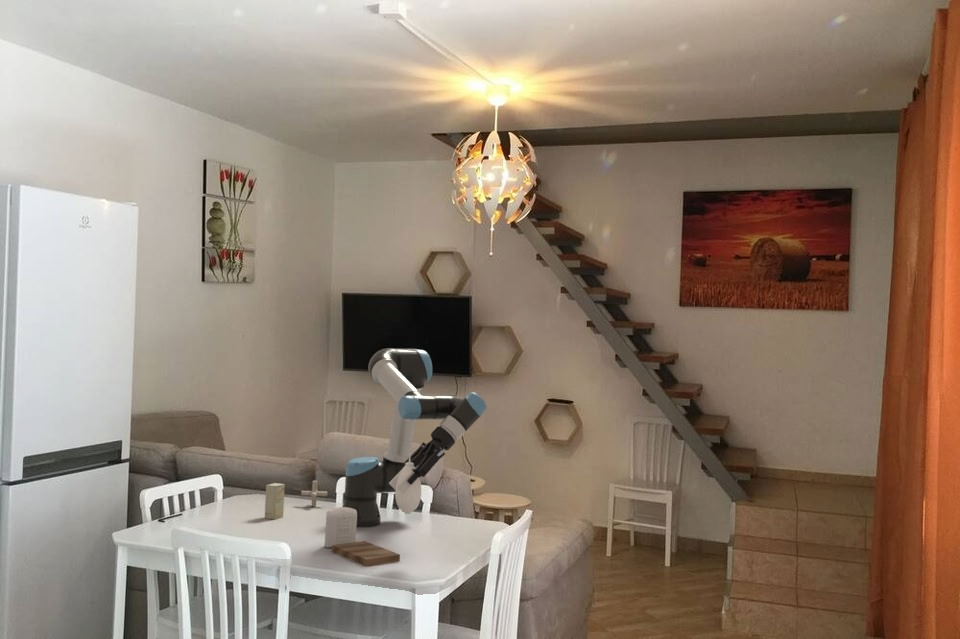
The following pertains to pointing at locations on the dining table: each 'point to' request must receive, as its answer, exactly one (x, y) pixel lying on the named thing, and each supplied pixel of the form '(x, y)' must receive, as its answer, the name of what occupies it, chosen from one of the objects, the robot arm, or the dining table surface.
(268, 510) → the skincare box
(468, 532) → the dining table surface
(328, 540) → the beige engraved tablet
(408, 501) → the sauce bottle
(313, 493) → the pipe connector
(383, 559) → the walnut board
